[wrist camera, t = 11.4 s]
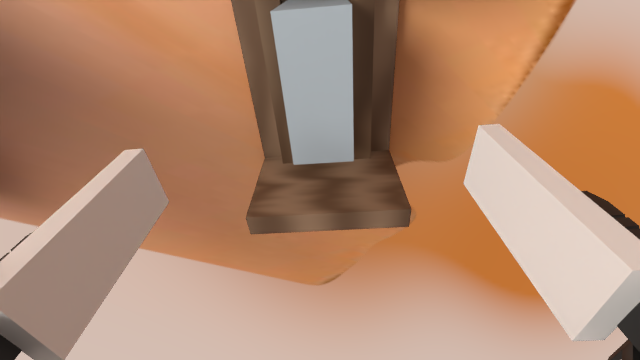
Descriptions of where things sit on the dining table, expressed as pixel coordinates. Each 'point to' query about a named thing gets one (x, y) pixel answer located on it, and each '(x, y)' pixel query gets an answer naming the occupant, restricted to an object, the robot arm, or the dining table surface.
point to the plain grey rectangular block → (316, 77)
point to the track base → (368, 124)
